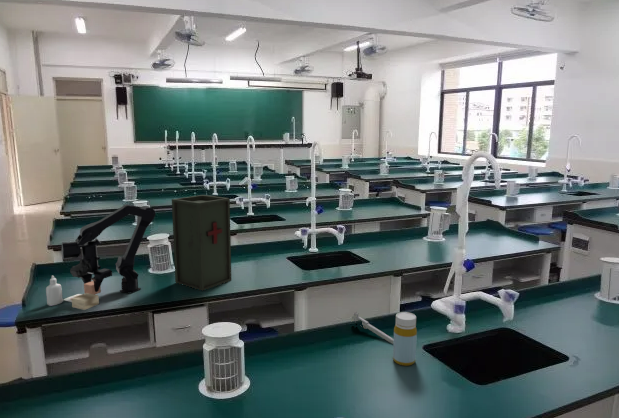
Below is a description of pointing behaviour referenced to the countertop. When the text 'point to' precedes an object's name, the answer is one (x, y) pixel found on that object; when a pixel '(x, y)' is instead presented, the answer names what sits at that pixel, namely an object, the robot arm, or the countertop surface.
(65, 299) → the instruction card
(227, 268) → the first aid box
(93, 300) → the beech base block
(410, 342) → the bottle
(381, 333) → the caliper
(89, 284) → the terracotta brick
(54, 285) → the eye dropper bottle
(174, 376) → the countertop surface
